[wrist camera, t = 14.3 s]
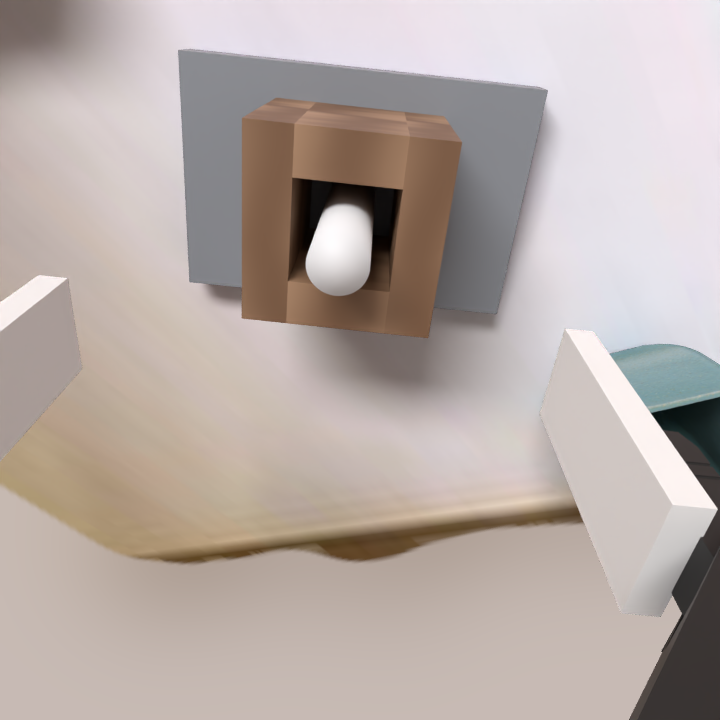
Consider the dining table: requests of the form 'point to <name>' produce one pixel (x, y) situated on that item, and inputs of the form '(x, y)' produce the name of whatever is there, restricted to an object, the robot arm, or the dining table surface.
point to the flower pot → (678, 392)
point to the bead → (352, 166)
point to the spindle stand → (351, 201)
